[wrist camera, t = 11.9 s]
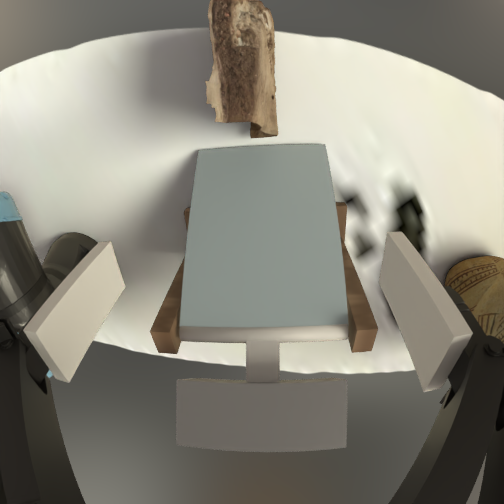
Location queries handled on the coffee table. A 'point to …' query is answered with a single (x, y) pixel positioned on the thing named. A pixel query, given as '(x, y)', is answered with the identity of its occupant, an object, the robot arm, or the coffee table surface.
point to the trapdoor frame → (358, 307)
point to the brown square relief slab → (243, 65)
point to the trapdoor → (263, 298)
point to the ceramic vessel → (481, 291)
